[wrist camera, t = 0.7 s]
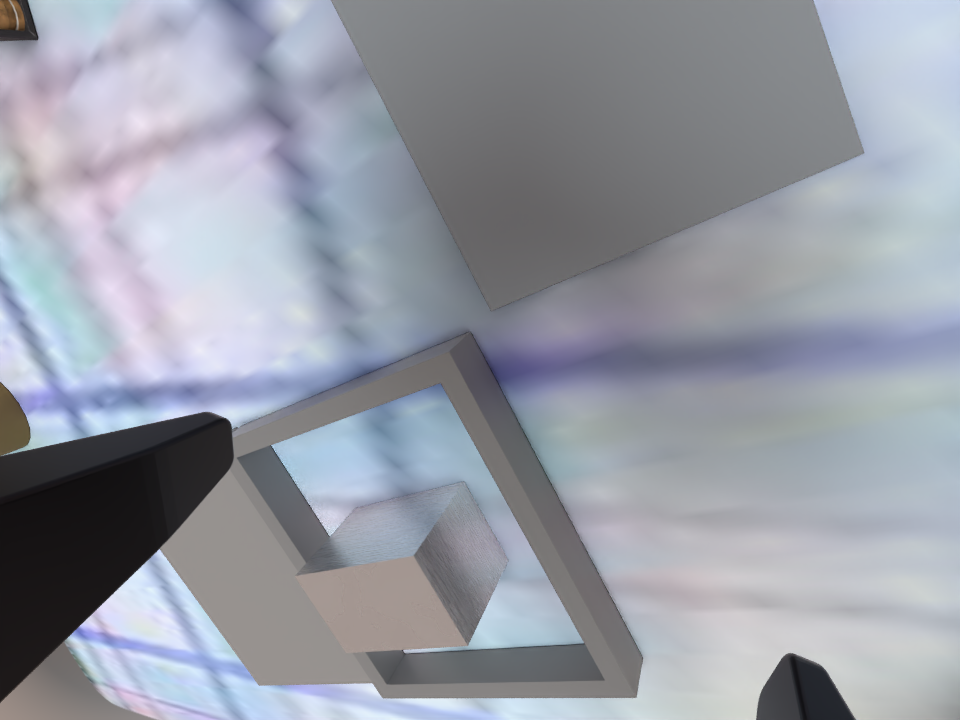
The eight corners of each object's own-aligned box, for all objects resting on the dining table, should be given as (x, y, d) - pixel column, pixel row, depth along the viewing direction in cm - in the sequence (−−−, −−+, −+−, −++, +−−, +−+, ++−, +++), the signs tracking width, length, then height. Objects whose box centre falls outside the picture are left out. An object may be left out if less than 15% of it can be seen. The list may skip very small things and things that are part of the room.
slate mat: (860, 151, 15) (864, 153, 15) (495, 306, 22) (491, 311, 21) (692, -351, 13) (690, -365, 12) (332, -13, 19) (323, -15, 19)
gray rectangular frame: (642, 658, 26) (636, 697, 24) (268, 672, 40) (248, 698, 38) (470, 331, 22) (448, 351, 21) (125, 473, 36) (96, 492, 35)
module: (509, 558, 27) (467, 645, 23) (399, 574, 30) (346, 653, 26) (465, 479, 26) (413, 555, 22) (357, 506, 29) (294, 576, 25)
